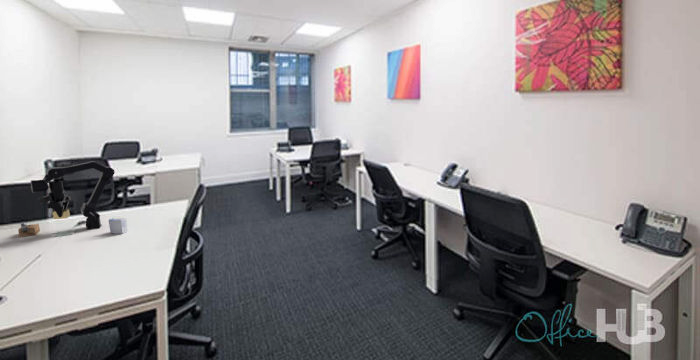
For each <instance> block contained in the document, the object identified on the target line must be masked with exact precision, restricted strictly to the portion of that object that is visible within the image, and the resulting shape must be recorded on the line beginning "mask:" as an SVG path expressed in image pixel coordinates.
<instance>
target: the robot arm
mask: <svg viewBox="0 0 700 360" xmlns="http://www.w3.org/2000/svg"><path fill="white" fill-rule="evenodd" d="M90 169H94V170H97V171H99V178H98V180H97V183H96V185H95V187H94V188H93V191H92V193H91V195H90V197H89V199H88V201H87V202H82V206H81V207H80V208H79V209H80V213H81V215H83V217H85V219H86V220H85V227H86V230H95V229H100V228H101V227H102V225H103V224H101V222H102V221H101V215H100V214H99V213H98V211H96V210H97V204H98V202H99V200H100V197H101V196H102V194H103V191H104V190H105V188H106V186H107V183H109V181H110V180H111V179H112V178H113V177H114V175H115V172H116V171H115V170H114V168H112V167H110V166H104V165H101V164H99V163H98V162H96V161H93V160H91V161H87V162H83V163H79V164H73V165H68V166H54V167H53V166H52V167H48V168H47V169H46V174H45V175H44V177H43V178H42V179H37V180H35V179H33V180H30V189H31V192H32V193H33V194H34V193H35V194H36V193H42V192H47V191H48V190H49V193H48V194H47V195H45V196H42V195H41V196H39V197H38V199H37V203H39V204H40V205H43V204H45V203H47V204H45V206H46V209H48V210H49V209H51V210H54V211H55V212H56V213H57V215H58V216H59V217H62V213H63V210H67V208H68V206H69V203H70V201H71V198H72V197H71V195H69V194H65V192H66V190H65V189H64V185H63V182H66V181H67V179H65V178H64V176H66V175H69V174H72V173H78V172H82V171H87V170H90Z"/></svg>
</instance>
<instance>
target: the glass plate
mask: <svg viewBox="0 0 700 360" xmlns="http://www.w3.org/2000/svg"><path fill="white" fill-rule="evenodd" d="M75 232H76V229H74V230H73V229H72V230H65V231H58V232H57V233H56V234H55V235H54V238H56V237H65V236H72V235H73V234H75Z"/></svg>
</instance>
